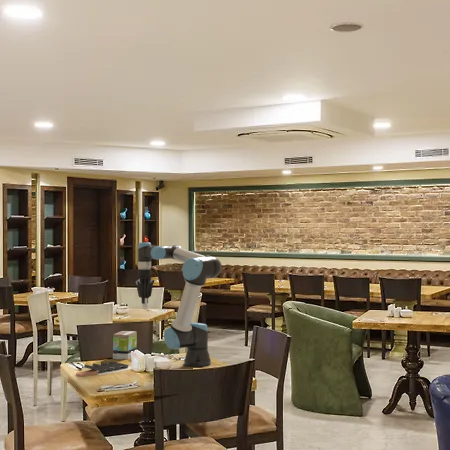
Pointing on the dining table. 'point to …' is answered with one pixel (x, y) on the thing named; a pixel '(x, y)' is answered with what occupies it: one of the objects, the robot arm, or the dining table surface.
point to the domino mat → (113, 370)
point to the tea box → (124, 344)
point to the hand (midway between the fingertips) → (144, 309)
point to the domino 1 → (87, 373)
